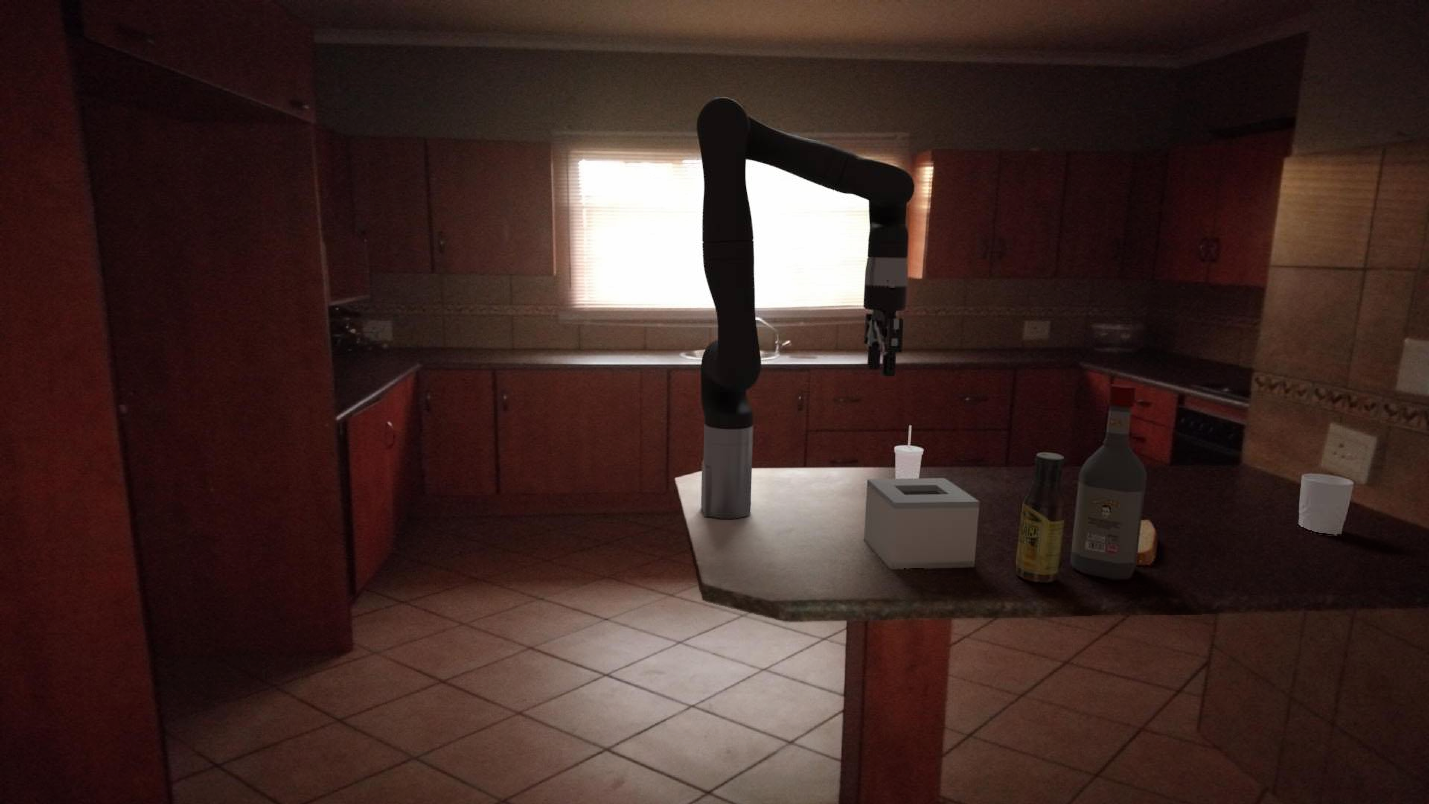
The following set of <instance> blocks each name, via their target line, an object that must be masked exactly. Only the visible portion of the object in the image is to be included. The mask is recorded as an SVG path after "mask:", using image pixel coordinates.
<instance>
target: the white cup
mask: <svg viewBox="0 0 1429 804" xmlns="http://www.w3.org/2000/svg"><path fill="white" fill-rule="evenodd" d="M1353 489H1354V481H1352V480H1351V479H1348V478H1346V477H1345V478H1344V477H1341V476H1336V475H1332V474H1325V473H1324V474H1323V473H1304V474H1302V475H1301V483H1300V491H1299V493H1300V494H1299V503H1298V508H1299V509H1298V514H1299V515H1298V524H1299V525H1300V526H1301V527H1304V528H1306V529H1308V530H1312V531H1314V532H1319V533H1327V534H1334V535H1333V536H1338V535H1337V534H1340V535H1342V532H1343V528H1344V527H1343V526H1344V523H1345V521H1346V519H1347V515H1348V510H1349V509H1348V508H1349V506H1350V504H1351V503H1350V501H1351V497H1352V493H1353Z"/></svg>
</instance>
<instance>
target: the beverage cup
mask: <svg viewBox="0 0 1429 804" xmlns="http://www.w3.org/2000/svg"><path fill="white" fill-rule="evenodd" d="M911 438H912V425H910V424H909V426H908V438H907V439H908V440H907V445H906V444H905V445H896V446H894V451H893V452H894V453H895V479H918V478H920V472H921V464H922V463H921V462H922V456H923V454H924V448H922V447H921V446H920V447H919V446H916V445H911Z"/></svg>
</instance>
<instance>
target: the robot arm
mask: <svg viewBox="0 0 1429 804" xmlns="http://www.w3.org/2000/svg"><path fill="white" fill-rule="evenodd" d="M696 133H697V138H698V143H699V150H700V156H701V157H700V158H701V165H702V173H703V200H702V201H703V202H702V220H701V222H702V226H701V227H702V230H701V231H702V237H701V239H702V262H703V270H704V275H705V279H706V282H707V286H708V289H709V292H710V296H711V298H712V301H713V305H714V308H715V312H716V318H717V319H716V320H717V339H715V340H713V341H711V342H710V343H709V344H708V345H707V346H706V348H705V350H704V352H703V354H702V358H701V363H700V401H701V402H700V403H701V408H702V412H703V416H704V428H703V429H704V430H703V435H704V436H703V460H701V489H700V490H701V496H700V499H701V501H700V506H701V507H700V508H701V511H702V513H703V516H704V517H706V518H708V517H709V518H715V519H721V520H722V519H723V520H724V519H725V520H731V519H732V520H734V519H741V518H745V517H747V516H749V515H750V514H751V506H752V477H753V476H752V475H753V474H752V470H753V469H752V468H753V443H754V441H753V440H754V436H753V435H754V411H753V408H752V407H751V405H750V403H749V400H748V395H747V394H748V393H747V391H748V390H750V389H751V388H753V386H755V384H756V383H757V381H758V379H759V377H760V375H761V372H762V371H761V369H762V357H761V349H760V341H759V335H758V327H757V320H756V319H757V318H756V289H755V288H756V287H755V286H756V285H755V249H754V248H755V244H754V242H755V241H754V240H755V238H754V229H753V219H752V214H751V213H752V212H751V211H752V210H751V205H750V200H749V196H748V195H749V194H748V189H747V179H746V174H747V173H746V167H747V166H746V164H747V160H749V161H753V162H757V163H761V164H764V165H768V166H770V167H773V168H776V169H778V170H781V171H784V172H787V173H789V174H791V175H794V176H797V177H798V178H801V179H803V180H806V181H807V182H811V183H814V184H816V185H818V186H821V187H824V188H827V189H829V190H832V191H835V192H837V193H841V194H845V195H854V196H857V197H860V198H862V199H865V200H868V214H869V215H868V218H869V221H868V222H869V233H868V239H867V240H868V244H867V258H866V264H865V265H866V266H865V272H864V290H863V308H864V310H869V311H872V312H866V314H865V323H864V335H863V337H864V339H863V344H864V345H866V349H867V350H868V351H867V362H866V363H867V369H868V370H879V369H880V367H881V375H882V376H884V377H894V376H895V374H896V366H897V365H896V362H897V361H896V360H897V356H898V354H901V353H902V352H903V337H904V336H903V334H904V319H903V318H898V317H897V312H899V311H905V309H906V306H907V293H908V292H907V291H908V278H909V277H908V276H909V275H908V273H909V271H908V269H909V267H908V254H909V253H908V251H909V231H908V228H907V223H906V222H907V207H908V204H909V202H910V201H911V199H912V197H913V196H914V194H915V193H914V192H915V183H914V182H915V181H914V180H913V178H912V177H913V176H911V174H910V173H909V172H907V171H906V170H905V169H903V168H901V167H899V166H896V165H893V164H889V163H887V162H883V161H878V160H874V159H870V158H865V157H862V156H861V155H857V154H855V153H854V152H851V151H849V150H846V149H844V148H841V147H838V146H834V145H832V144H829V143H826V142H822V141H818V140H815V139H811V138H807V137H803V136H800V135H799V136H798V135H795V134H790V133H787V132H785V131H781V130H779V129H776V128H773V127H771V126H769V125H767V124H764V122H763V123H762V122H761V121H759V120H756V119H755V118H753V117H752V116H750V115H749V114H748V113H747V111H746V110H745V108H744V107H743V106H742V105H741V104H740V103H739V102H738V101H736V100H735V99H732V98H730V97H725V96H719V97H715V98H713V99H711V100H710V101H708V102H707V103H706V104H705V105H704V106H703V107H702V108H701V110H700V111H699V114H698V116H697V120H696ZM881 349H882V350H881ZM881 351H882V362H881ZM881 363H882V365H881Z"/></svg>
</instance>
